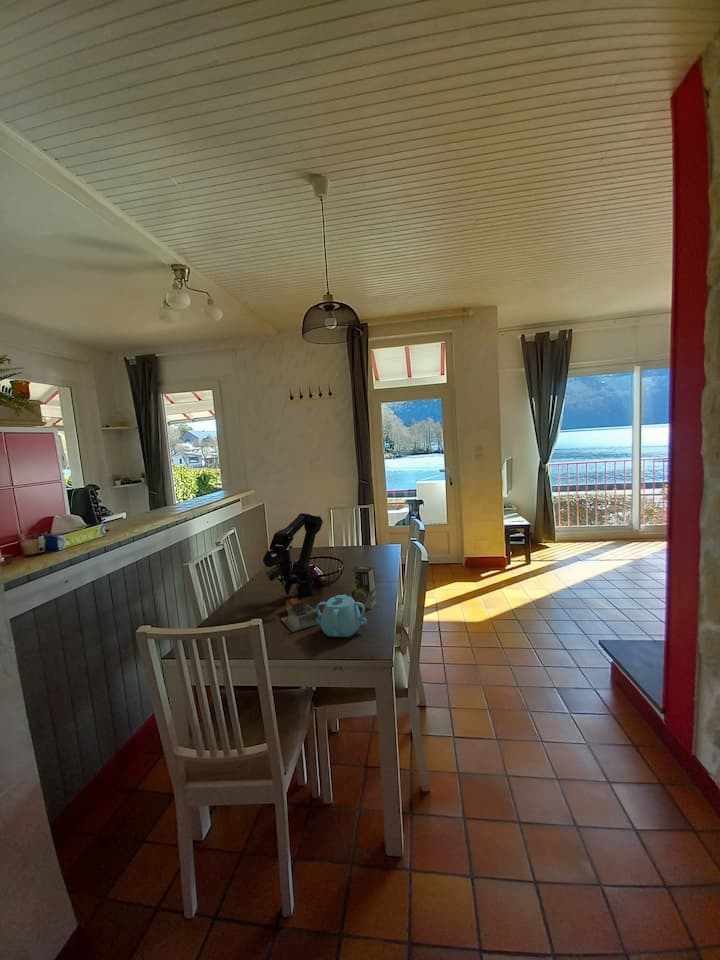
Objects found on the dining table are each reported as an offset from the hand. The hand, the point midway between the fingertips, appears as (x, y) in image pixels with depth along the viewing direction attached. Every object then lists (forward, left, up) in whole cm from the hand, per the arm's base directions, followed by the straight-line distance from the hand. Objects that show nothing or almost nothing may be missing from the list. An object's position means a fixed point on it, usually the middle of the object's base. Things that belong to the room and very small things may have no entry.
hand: (287, 594), depth 173 cm
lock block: (0, +9, -5) cm, 10 cm away
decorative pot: (-8, +37, -5) cm, 38 cm away
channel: (0, +19, -5) cm, 20 cm away
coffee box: (-27, +22, -5) cm, 35 cm away
